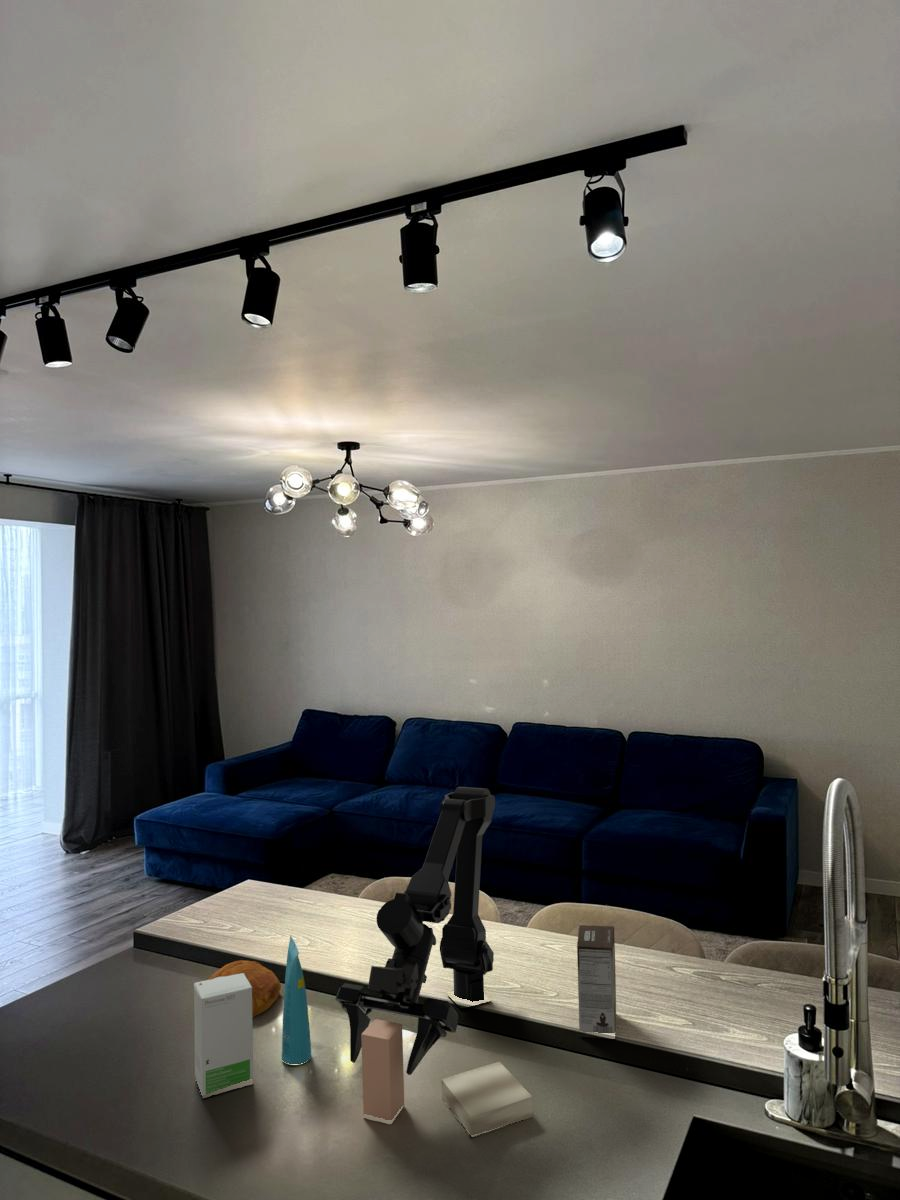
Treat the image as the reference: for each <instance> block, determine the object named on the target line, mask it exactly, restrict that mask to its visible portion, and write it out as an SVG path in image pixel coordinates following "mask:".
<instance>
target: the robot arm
mask: <svg viewBox="0 0 900 1200" xmlns="http://www.w3.org/2000/svg"><path fill="white" fill-rule="evenodd" d="M495 807H496V797H495V795H494V794H491V791H490V789H488V788H483V787H470V786H469V787H467V786H458V787H456V788H455V789H454V791H452V792H449V793H446V794H445V795H444V799H442V800H441V803H440V806H439V817H438V819H437V824H436V826H435V829H434V832H433V835H432V838H431V841H430V844H429V847H428V851H427V854H426V857H425V859H424V863H423V865H422V868H420V869H419V870H418V871H417V872H416V873H414V874H413V875H412V876H411V877H410V880H409V882H408V884H407V887H406V888H405V890H404V891H403V892H395V895H394V897H393V898H392V899H390V900H388V901H386V902H385V903H384V904H383V905H382V906H381V907H380V909H379V910H378V911H377V914H376V924H377V927H378V929H379V930H380V931H381V933H382V934H383V935H384V936H385V938H386V939H387V940H388V942H389V943H390V944H391V945H392V946H393V947H394V950H393V954H392V958H388V959H387V960H386V963H385V965H384V966H377V965H376V966H375V965H371V966H370V973H369V978H368V985H367V988H366V987H365V986H363V985H359V984H352V983H347V982H344V983H343V984H342V985H341V986H340V987H339V988H338V991H337V993H336V995H335V996H336V997H335V1001H336V1002H337V1003H338V1004H339V1005H340V1006H341V1008H342V1010H343V1011H344V1012H346V1014H347V1016H348V1020H349V1029H350V1031H349V1033H350V1035H349V1036H350V1037H349V1041H350V1043H349V1047H350V1048H349V1049H350V1050H349V1052H350V1055H349V1056H350V1058H349V1059H350V1062H352V1063H353V1064H355V1063H356V1062H357V1060H358V1058H359V1055H360V1052H361V1051H362V1041H361V1034H362V1033H363V1032H364V1031H365V1030H366V1029H367V1027H368V1026H369V1025H370V1024H371V1018H370V1017H369V1016H368V1015H369V1014H370V1013H372V1011H373V1010H376V1011H379V1012H380V1011H381V1012H385V1013H386V1012H387V1013H391V1014H396V1015H400V1016H401V1015H403V1016H409V1017H411V1018H412V1017H413V1018H418V1019H417V1031H416V1034H415V1035H416V1036H415V1038H414V1042H413V1046H412V1048H411V1052H410V1055H409V1058H408V1062H407V1066H406V1067H407V1068H406V1074H407V1075H408V1076H411V1075H412V1074H413V1073H414V1071H415V1070H416V1069H417V1067H418V1066H419V1065H420V1064H421V1062H422V1060H423V1059H424V1057H425V1055H427V1053H428V1052H429V1051H430V1049H431V1048H432V1047H433V1046H434V1045H435V1044H436V1043H437V1042H438V1041H439V1040H440V1038H447V1034H448V1033H453V1034H454V1033H456V1032H457V1028H458V1025H459V1014H458V1012H457V1011H456V1010H455V1008H454V1007H453V1006H452V1004H451V1003H450V1002H449V1001H448V1000H444V999H438V998H431V997H427V998H426V999H425V1000H424V1002H423V1003H421V1002H420V1001H419V997H420V994H421V991H422V987H423V984H426V981H427V978H428V977H427V975H426V971H427V967H428V964H429V963H428V962H429V961H430V960H429V959H430V955H431V951H432V947H433V946H436V945H437V938H436V936H435V934H434V930H433V927H429V926H428V925H427V924H425V923H424V922H427V923H433V924H440V923H442V922H444V921H445V919H446V918H447V917H448V916H449V915H450V911H451V910H452V915H451V916H450V918H449V919H448V921H447V922H446V923H445V924H444V925H443V927H442V929H441V930H442V931H441V932H442V933H441V934H442V935H441V939H440V941H439V953H440V958H441V959H440V960H441V962H442V963H441V964H442V967H443V968H444V969H450V970H452V972H453V973H452V975H453V976H452V977H453V991H454V995H455V996H457V997H459V998H462V999H467V1000H470V1001H472V1002H473V1001H479V1000H484V992H485V989H484V988H485V987H484V986H485V985H484V984H485V983H484V982H485V980H484V976H485V975H486V974H487V973H489V972H492V971H493V970H494V965H493V964H494V959H495V958H494V953H495V952H494V951H493V949H492V948H491V946H490V945H489V943H488V942H487V930H486V927H485V925H484V923H483V921H482V919H481V917H480V916H479V908H480V906H479V905H480V884H481V870H482V869H481V868H482V866H481V865H482V852H483V851H482V850H483V849H482V847H483V836H484V834H485V832H486V830H487V829H488V827H489V826H490V824H491V823H492V819H493V813H494V811H495ZM455 860H456V862H455ZM454 862H455V877H454V893H453V894H454V895H453V909H452V901H451V898H452V891H451V888H450V884H449V879H450V875H451V872H452V869H453V865H454ZM369 990H373V991H375V992H376V993H377V994H380V996H378V995H373V994H371V992H370V991H369ZM447 1032H448V1033H447Z"/></svg>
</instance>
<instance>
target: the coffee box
mask: <svg viewBox="0 0 900 1200" xmlns="http://www.w3.org/2000/svg"><path fill="white" fill-rule="evenodd" d="M615 945H616V944H615V926H613V925H611V926H609V925H582V924H580V925H579V926H578V934H577V944H576V947H577V948H576V950H577V951H576V953H577V958H576V959H577V991H578V995H577V996H578V997H577V998H578V1027H579V1029H578V1030H579V1031H583V1032H598V1033H615V1032H616V1033H617V986H616V985H617V983H616V981H617V980H616V950H615V949H616V946H615Z"/></svg>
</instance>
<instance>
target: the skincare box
mask: <svg viewBox="0 0 900 1200" xmlns="http://www.w3.org/2000/svg"><path fill="white" fill-rule="evenodd" d="M193 995H194V996H193V998H194V1001H193V1004H194V1010H193V1011H194V1078H195V1077H196V1080H195V1082H196V1081H197V1083H196V1085H197V1084H198V1086H199V1089H200V1091H199V1093H200V1092H201V1094H200V1096H201V1095H202V1096H203V1095H206V1094H209V1093H211V1092H214V1091H217V1090H219V1089H223V1088H226V1087H228V1086H231V1085H234V1084H237V1083H240V1082H242V1081H247V1080H249V1079H253V1080H254V1046H253V1045H254V1043H253V1042H254V1039H253V1038H254V1037H253V1036H254V1034H253V1027H254V1025H253V1018H252V987H251V985H250V983H249V981H248V980H247V978H246V976H245V975H244V973H241V974H236V975H231V976H226V977H217V978H214V979H211V980H207V979H206V980H201V981H198V982H197V981H196V982H194V983H193ZM198 1086H197V1087H198ZM199 1089H198V1090H199Z"/></svg>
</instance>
